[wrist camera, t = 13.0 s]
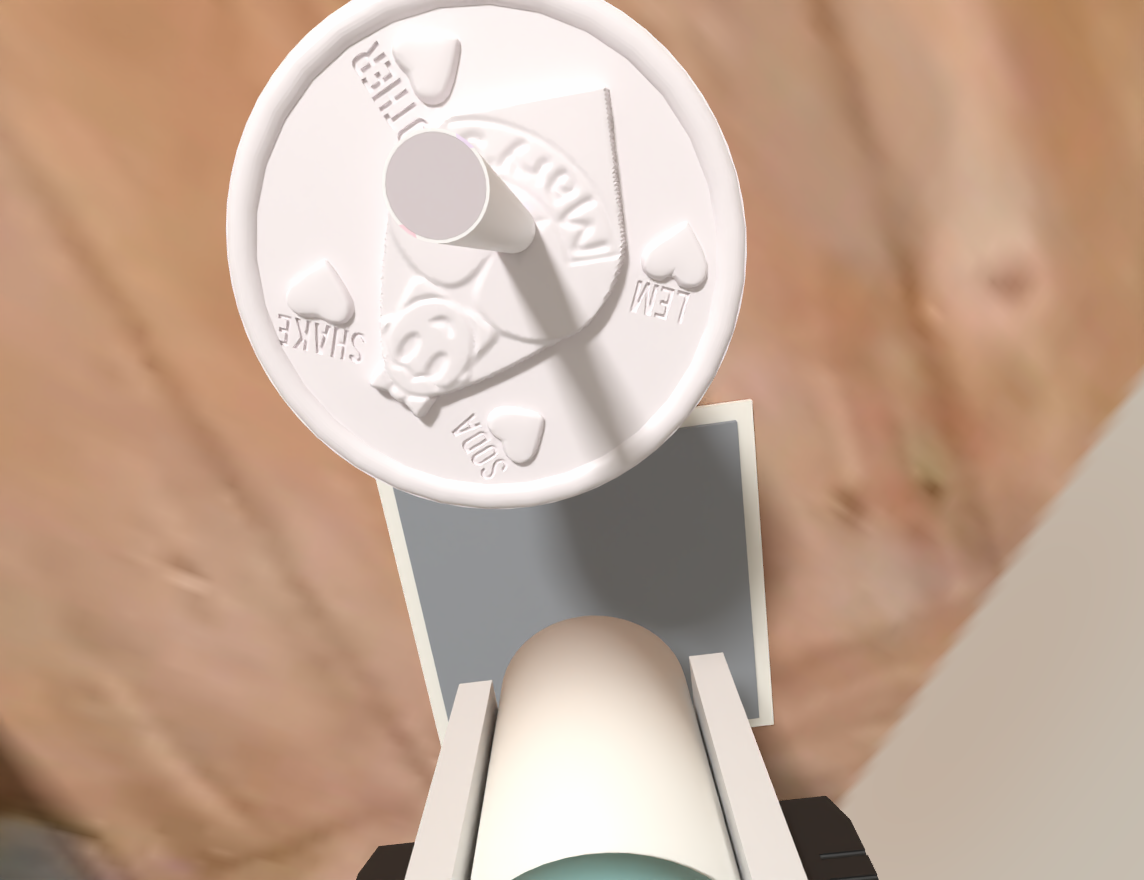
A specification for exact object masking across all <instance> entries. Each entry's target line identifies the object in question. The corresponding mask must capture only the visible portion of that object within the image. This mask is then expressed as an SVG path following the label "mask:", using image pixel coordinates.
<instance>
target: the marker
mask: <svg viewBox="0 0 1144 880" xmlns="http://www.w3.org/2000/svg"><path fill="white" fill-rule="evenodd" d="M471 880H741V878H740V874H739V871H738V867H737V863H736V860H735V856H734V853H733V849H732V845H731V842H730V838H729V834H728V831H727V827H726V824H725V820H724V816H723V813H722V809H721V806H720V802H719V798H718V795H717V791H716V788H715V784H714V780H713V777H712V773H711V770H710V766H709V762H708V759H707V755H706V751H705V748H704V744H703V741H702V737H701V733H700V730H699V726H698V723H697V719H696V715H695V712H694V708H693V705H692V701H691V697H690V694H689V690H688V686H687V683H686V679H685V676H684V673H683V670H682V667H681V665H680V663H679V661H678V659H677V658H676V656H675V654H674V653H673V652H672V651H671V649H670V648H669V647H668V646H667V645H666V644H665V643H664V642H663V641H662V640H661V639H660V638H659V637H658V636H656V635H655V634H654V633H652V632H651V631H649V630H647V629H645V628H644V627H642V626H640V625H638V624H635V623H633V622H630V621H627V620H623V619H620V618H615V617H608V616H582V617H575V618H571V619H566V620H563V621H560V622H557V623H555V624H552V625H550V626H548V627H546V628H544V629H542V630H541V631H539V632H538V633H536V634H535V635H533V636H532V637H531V638H530V639H528V640H527V641H526V642H525V643H524V644H523V645H522V646H521V647H520V648H519V650H518V651H517V652H516V653H515V655H514V656H513V658H512V659H511V661H510V663H509V665H508V667H507V669H506V672H505V675H504V678H503V683H502V689H501V695H500V701H499V707H498V714H497V720H496V726H495V732H494V738H493V744H492V751H491V757H490V763H489V769H488V775H487V781H486V788H485V794H484V800H483V806H482V812H481V818H480V825H479V831H478V837H477V843H476V849H475V855H474V862H473V868H472V874H471Z"/></svg>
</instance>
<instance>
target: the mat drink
mask: <svg viewBox="0 0 1144 880" xmlns="http://www.w3.org/2000/svg"><path fill="white" fill-rule="evenodd" d="M376 482H377V486H378V490H379V494H380V498H381V502H382V506H383V510H384V514H385V518H386V523H387V527H388V531H389V535H390V539H391V543H392V547H393V551H394V555H395V559H396V563H397V568H398V572H399V576H400V580H401V584H402V588H403V592H404V596H405V600H406V604H407V608H408V613H409V617H410V621H411V625H412V629H413V633H414V637H415V641H416V645H417V649H418V653H419V658H420V662H421V666H422V670H423V674H424V678H425V682H426V686H427V690H428V694H429V698H430V703H431V707H432V711H433V715H434V719H435V723H436V727H437V731H438V735H439V739H440V743H441V747H442V744H443V740H444V737H445V733H446V729H447V726H448V722H449V719H450V715H451V712H452V708H453V704H454V701H455V697H456V694H457V690H458V686H459V684H463V683H471V682H479V681H488V680H492V682H493V687H494V692H495V696H496V701H497V706H498V707H499V701H500V695H501V689H502V683H503V678H504V675H505V672H506V669H507V667H508V665H509V663H510V661H511V659H512V658H513V656H514V655H515V653H516V652H517V651H518V650H519V648H520V647H521V646H522V645H523V644H524V643H525V642H526V641H527V640H528V639H530V638H531V637H532V636H533V635H535V634H536V633H538V632H539V631H541V630H542V629H544V628H546V627H548V626H550V625H552V624H555V623H557V622H560V621H563V620H566V619H571V618H575V617H582V616H608V617H615V618H620V619H623V620H627V621H630V622H633V623H635V624H638V625H640V626H642V627H644V628H645V629H647V630H649V631H651V632H652V633H654V634H655V635H656V636H658V637H659V638H660V639H661V640H662V641H663V642H664V643H665V644H666V645H667V646H668V647H669V648H670V649H671V651H672V652H673V653H674V654H675V656H676V658H677V659H678V661H679V663H680V665H681V667H682V670H683V673H684V676H685V679H686V683H687V686H688V690H689V694H690V697H691V701H692V705H693V708H694V700H693V690H692V681H691V672H690V663H689V656H696V655H705V654H713V653H721V652H723V654H724V657H725V660H726V662H727V665H728V668H729V670H730V673H731V676H732V678H733V681H734V684H735V686H736V689H737V692H738V694H739V697H740V700H741V702H742V705H743V708H744V710H745V713H746V716H747V718H748V721H749V724H750V726H751V727H757V726H766V725H774V720H773V705H772V690H771V675H770V660H769V645H768V631H767V616H766V601H765V586H764V571H763V556H762V542H761V527H760V512H759V497H758V482H757V468H756V453H755V438H754V423H753V408H752V400H751V399H746V400H739V401H732V402H725V403H718V404H711V405H703V406H696V407H695V408H694V410H693V411H692V412H691V414H690V415H689V417H688V418H687V419H686V420H685V421H684V422H683V423H682V425H681V426H680V427H679V428H678V429H677V430H676V431H675V432H674V434H673V435H672V436H671V437H669V438H668V439H667V440H666V441H665V442H664V443H663V444H662V445H661V446H660V447H659V448H658V449H657V450H656V451H654V452H653V453H652V454H650V455H649V456H648V457H647V458H645V459H644V460H643V461H641V462H640V463H639V464H637V465H636V466H634V467H633V468H631V469H630V470H628V471H627V472H625V473H623V474H622V475H620V476H619V477H617V478H615V479H613V480H611V481H609V482H607V483H605V484H603V485H601V486H599V487H597V488H595V489H592V490H590V491H587V492H585V493H582V494H580V495H577V496H574V497H571V498H567V499H564V500H560V501H557V502H553V503H548V504H543V505H538V506H532V507H523V508H513V509H480V508H468V507H460V506H455V505H449V504H443V503H439V502H435V501H431V500H428V499H424V498H420V497H417V496H414V495H412V494H409V493H406V492H404V491H401V490H398V489H396V488H394V487H392V486H389V485H387V484H385V483H383V482H381V481H379V480H377V479H376ZM694 712H695V709H694Z"/></svg>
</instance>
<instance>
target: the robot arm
mask: <svg viewBox="0 0 1144 880" xmlns="http://www.w3.org/2000/svg"><path fill="white" fill-rule="evenodd" d="M689 663H690V672H691V681H692V690H693V700H694V709H695V715H696V719H697V723H698V726H699V730H700V733H701V737H702V741H703V744H704V748H705V751H706V755H707V759H708V762H709V766H710V770H711V773H712V777H713V780H714V784H715V788H716V791H717V795H718V798H719V802H720V806H721V809H722V813H723V816H724V820H725V824H726V827H727V831H728V834H729V838H730V842H731V845H732V849H733V853H734V856H735V860H736V863H737V867H738V871H739V874H740V878H741V880H878V877H877V873H876V871H875V869H874V867H873V865H872V863H871V861H870V859H869V857H868V855H866V853H865V849H864V847H863V845H862V843H861V840H860V839H859V836H858V835H857V832H856V830H855V828H854V826H853V824H852V822H851V820H850V819H849V818H848V817H847V816H846V815H845V814H844V813H843V812H842V811H841V810H840V809H839V808H838V807H837V806H836V805H835V804H834V803H833V802H832V801H831V800H830V799H829V798H828V797H827V796H821V797H812V798H802V799H793V800H784V801H778V799H777V796H776V793H775V791H774V788H773V785H772V783H771V780H770V777H769V775H768V772H767V769H766V767H765V764H764V761H763V759H762V756H761V753H760V751H759V748H758V745H757V743H756V740H755V737H754V734H753V732H752V729H751V726H750V724H749V721H748V718H747V716H746V713H745V710H744V708H743V705H742V702H741V700H740V697H739V694H738V692H737V689H736V686H735V684H734V681H733V678H732V676H731V673H730V670H729V668H728V665H727V662H726V660H725V657H724V654H723V652H721V653H713V654H705V655H696V656H689ZM497 714H498V706H497V701H496V696H495V692H494V687H493V682H492V680H488V681H479V682H471V683H463V684H459V686H458V690H457V694H456V697H455V701H454V704H453V708H452V712H451V715H450V719H449V722H448V726H447V729H446V733H445V737H444V740H443V744H442V747H441V751H440V754H439V758H438V762H437V765H436V769H435V772H434V776H433V780H432V783H431V787H430V790H429V794H428V797H427V801H426V805H425V808H424V812H423V815H422V819H421V822H420V826H419V830H418V833H417V837H416V840H415V842H413V843H404V844H395V845H386V846H379V847H378V848H377V849H376V851H375V852H374V853H373V855H372V856H371V857H370V859H369V860H368V861H367V863H366V864H365V865H364V867H363V868H362V869H361V871H360V872H359V874H358V876H357V879H356V880H471V874H472V868H473V862H474V855H475V849H476V843H477V837H478V831H479V825H480V818H481V812H482V806H483V800H484V794H485V788H486V781H487V775H488V769H489V763H490V757H491V751H492V744H493V738H494V732H495V726H496V720H497Z"/></svg>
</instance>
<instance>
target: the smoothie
mask: <svg viewBox="0 0 1144 880" xmlns="http://www.w3.org/2000/svg"><path fill="white" fill-rule="evenodd" d="M226 238H227V256H228V263H229V270H230V276H231V283H232V287H233V291H234V295H235V299H236V303H237V307H238V311H239V314H240V317H241V319H242V322H243V325H244V328H245V331H246V334H247V336H248V338H249V340H250V343H251V345H252V347H253V349H254V352H255V354H256V356H257V358H258V360H259V362H260V363H261V365H262V367H263V369H264V370H265V372H266V374H267V376H268V378H269V379H270V381H271V382H272V384H273V385H274V387H275V388H276V390H277V391H278V393H279V394H280V395H281V397H282V398H283V400H284V401H285V402H286V404H287V405H288V406H289V407H290V408H291V410H292V411H293V412H294V413H295V414H296V416H297V417H298V418H299V419H300V420H301V421H302V422H303V423H304V424H305V425H306V426H307V428H308V429H309V430H310V431H311V432H312V433H313V434H314V435H315V436H316V437H317V438H319V439H320V440H321V441H322V442H323V443H324V444H326V445H327V446H328V447H329V448H330V449H331V450H333V451H334V452H335V453H336V454H338V455H339V456H340V457H342V458H343V459H345V460H346V461H347V462H349V463H350V464H352V465H353V466H354V467H356V468H358V469H360V470H361V471H363V472H365V473H366V474H368V475H370V476H371V477H373V478H375V479H377V480H379V481H381V482H383V483H385V484H387V485H389V486H392V487H394V488H396V489H398V490H401V491H404V492H406V493H409V494H412V495H414V496H417V497H420V498H424V499H428V500H431V501H435V502H439V503H443V504H449V505H455V506H460V507H468V508H480V509H513V508H523V507H532V506H538V505H543V504H548V503H553V502H557V501H560V500H564V499H567V498H571V497H574V496H577V495H580V494H582V493H585V492H587V491H590V490H592V489H595V488H597V487H599V486H601V485H603V484H605V483H607V482H609V481H611V480H613V479H615V478H617V477H619V476H620V475H622V474H623V473H625V472H627V471H628V470H630V469H631V468H633V467H634V466H636V465H637V464H639V463H640V462H641V461H643V460H644V459H645V458H647V457H648V456H649V455H650V454H652V453H653V452H654V451H656V450H657V449H658V448H659V447H660V446H661V445H662V444H663V443H664V442H665V441H666V440H667V439H668V438H669V437H671V436H672V435H673V434H674V432H675V431H676V430H677V429H678V428H679V427H680V426H681V425H682V423H683V422H684V421H685V420H686V419H687V418H688V417H689V415H690V414H691V412H692V411H693V410H694V408H695V407H696V406H697V404H698V403H699V402H700V400H701V399H702V397H703V396H704V394H705V392H706V391H707V389H708V387H709V386H710V384H711V382H712V381H713V379H714V377H715V375H716V373H717V371H718V369H719V367H720V365H721V363H722V361H723V359H724V356H725V354H726V352H727V349H728V346H729V343H730V341H731V338H732V335H733V332H734V330H735V326H736V322H737V318H738V314H739V310H740V307H741V301H742V295H743V289H744V282H745V271H746V257H747V245H746V223H745V215H744V206H743V199H742V194H741V190H740V185H739V181H738V176H737V172H736V169H735V166H734V163H733V160H732V157H731V154H730V150H729V147H728V145H727V142H726V140H725V138H724V136H723V133H722V131H721V129H720V126H719V124H718V122H717V120H716V118H715V116H714V114H713V113H712V111H711V109H710V107H709V105H708V104H707V102H706V100H705V98H704V96H703V95H702V93H701V92H700V90H699V89H698V88H697V86H696V85H695V83H694V82H693V80H692V79H691V78H690V76H689V75H688V73H687V72H686V71H685V70H684V68H683V67H682V66H681V65H680V64H679V63H678V61H677V60H676V59H675V58H674V57H673V56H672V54H671V53H670V52H669V51H668V50H667V49H666V48H665V47H664V46H663V45H662V44H661V43H660V42H659V41H658V40H657V39H656V38H655V37H653V36H652V35H651V34H650V33H649V32H648V31H647V30H646V29H645V28H643V27H642V26H641V25H639V24H638V23H637V22H636V21H634V20H633V19H632V18H630V17H629V16H628V15H626V14H625V13H624V12H622V11H620V10H619V9H617V8H616V7H614V6H612V5H611V4H609V3H607V2H606V1H604V0H352V1H350V2H348V3H347V4H345V5H344V6H342V7H341V8H339V9H338V10H336V11H335V12H333V13H332V14H330V15H329V16H328V17H327V18H325V19H324V20H323V21H322V22H321V23H319V24H318V25H317V26H316V27H315V28H313V29H312V30H311V31H310V32H309V33H308V34H307V35H306V36H305V37H304V38H303V39H302V40H301V41H300V42H299V43H298V44H297V45H296V46H295V47H294V48H293V49H292V50H291V51H290V53H289V54H288V55H287V56H286V58H285V59H284V60H283V62H282V63H281V64H280V66H279V67H278V68H277V69H276V71H275V72H274V73H273V75H272V76H271V78H270V80H269V81H268V83H267V85H266V86H265V88H264V89H263V91H262V93H261V94H260V96H259V98H258V100H257V102H256V104H255V106H254V108H253V110H252V112H251V115H250V117H249V119H248V121H247V123H246V126H245V129H244V131H243V134H242V137H241V140H240V143H239V146H238V149H237V152H236V156H235V161H234V165H233V169H232V173H231V178H230V186H229V193H228V200H227V218H226Z"/></svg>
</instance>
